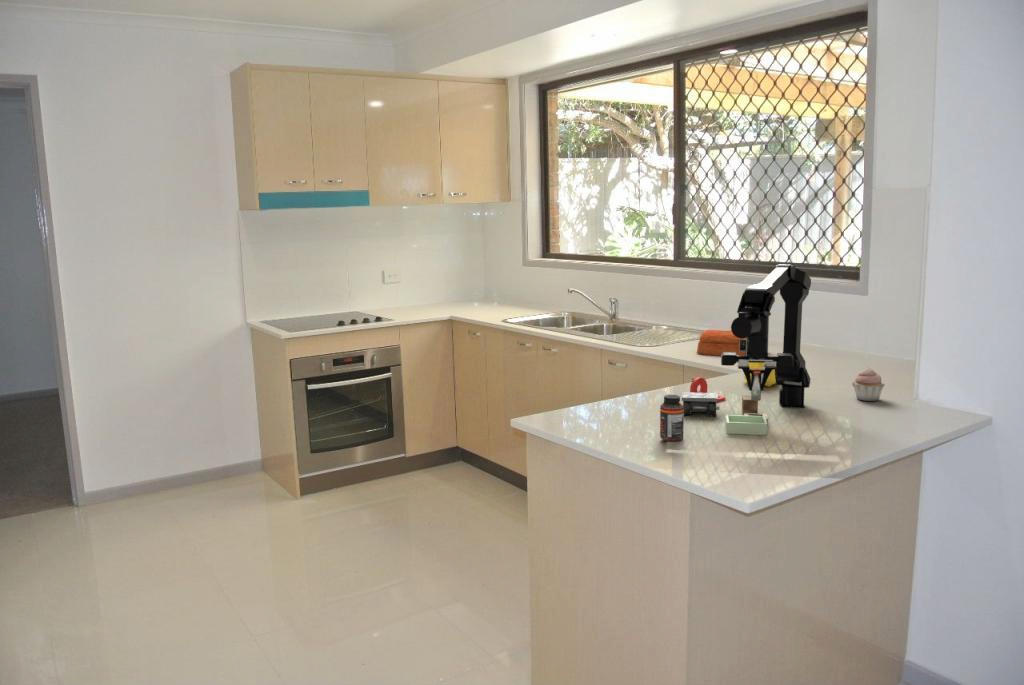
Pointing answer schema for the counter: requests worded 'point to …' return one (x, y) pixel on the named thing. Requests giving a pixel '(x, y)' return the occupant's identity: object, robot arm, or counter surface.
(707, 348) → the bread
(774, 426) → the counter surface
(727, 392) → the counter surface
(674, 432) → the supplement bottle
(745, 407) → the block
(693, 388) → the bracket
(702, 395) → the trolley
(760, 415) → the pin socket
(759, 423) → the tray
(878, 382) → the cupcake
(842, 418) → the counter surface
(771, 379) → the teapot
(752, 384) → the pin
